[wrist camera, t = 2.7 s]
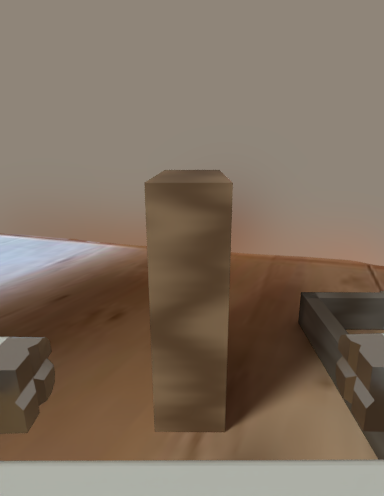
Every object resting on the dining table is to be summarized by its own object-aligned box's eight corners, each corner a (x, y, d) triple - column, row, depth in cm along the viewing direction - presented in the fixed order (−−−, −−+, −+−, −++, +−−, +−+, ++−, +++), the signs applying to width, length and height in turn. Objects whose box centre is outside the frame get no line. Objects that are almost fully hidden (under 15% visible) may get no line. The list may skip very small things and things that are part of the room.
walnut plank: (154, 431, 19) (144, 182, 15) (168, 337, 29) (164, 169, 25) (224, 432, 19) (232, 182, 15) (215, 338, 29) (218, 170, 25)
